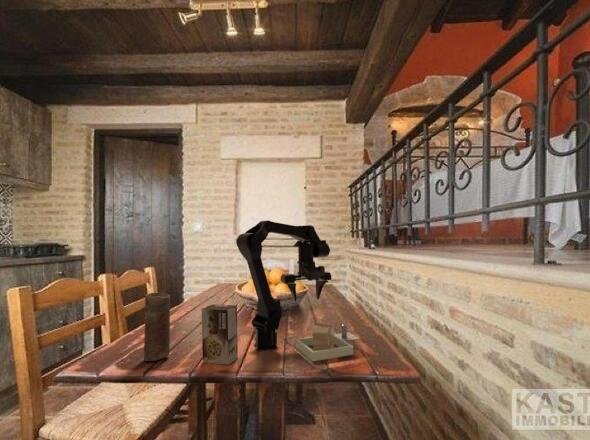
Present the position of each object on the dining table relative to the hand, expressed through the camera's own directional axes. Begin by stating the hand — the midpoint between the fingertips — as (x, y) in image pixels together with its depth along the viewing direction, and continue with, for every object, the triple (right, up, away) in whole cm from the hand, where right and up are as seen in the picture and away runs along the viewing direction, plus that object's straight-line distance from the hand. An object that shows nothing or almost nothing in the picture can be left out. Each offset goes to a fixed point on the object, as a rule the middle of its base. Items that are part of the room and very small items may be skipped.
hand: (306, 300), depth 126 cm
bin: (+5, -12, -20) cm, 24 cm away
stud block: (+13, -13, -6) cm, 19 cm away
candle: (-47, -13, -22) cm, 54 cm away
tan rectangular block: (+5, -11, -20) cm, 24 cm away
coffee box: (-27, -13, -24) cm, 38 cm away
